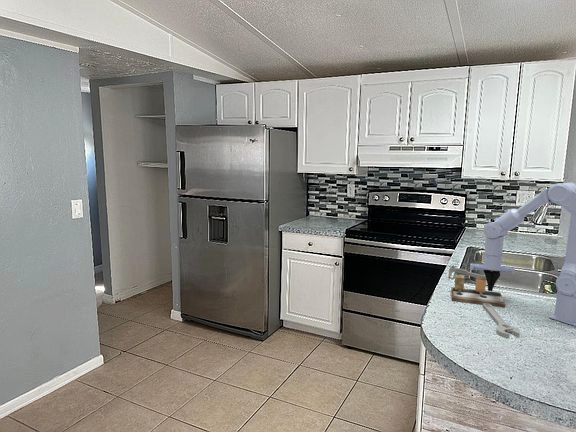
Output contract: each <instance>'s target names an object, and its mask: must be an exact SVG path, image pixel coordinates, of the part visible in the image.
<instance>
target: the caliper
mask: <svg viewBox="0 0 576 432" xmlns="http://www.w3.org/2000/svg"><path fill="white" fill-rule="evenodd" d="M452 274H453V277H452V279H453V280H455V275H464V278H466V277H468V276H469V277H471V278H472V277H473V278H476V277H481V278H485V279H486V277H485V274H483V275H482V274H480V273H479V274H478V273H476V272H471V271H468V270H466V269H464V268H458V267H457V265H454V264H452V266H450V267H449V270H448V279H451V276H452ZM496 283H502V281H501V280H499V278H498V279H497V281H496Z"/></svg>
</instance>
